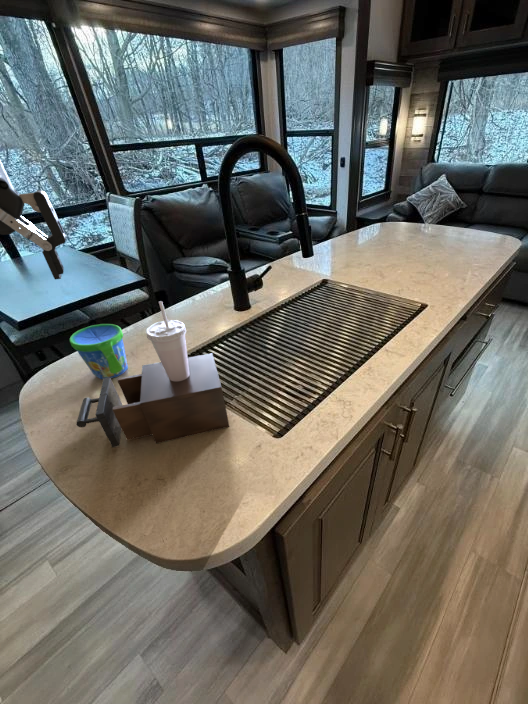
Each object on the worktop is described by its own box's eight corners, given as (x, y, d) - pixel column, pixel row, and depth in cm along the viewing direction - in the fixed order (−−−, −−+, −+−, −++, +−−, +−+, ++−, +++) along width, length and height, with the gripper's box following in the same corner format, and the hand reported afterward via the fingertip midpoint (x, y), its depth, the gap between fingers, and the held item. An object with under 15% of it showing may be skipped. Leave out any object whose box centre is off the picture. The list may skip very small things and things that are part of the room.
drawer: (86, 453, 58) (66, 420, 53) (95, 413, 67) (78, 382, 62) (184, 431, 62) (174, 398, 58) (180, 396, 71) (171, 365, 66)
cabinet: (156, 443, 61) (139, 403, 55) (156, 403, 71) (142, 365, 65) (229, 426, 64) (221, 387, 59) (220, 390, 74) (212, 353, 68)
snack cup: (143, 379, 78) (128, 340, 71) (94, 395, 73) (74, 355, 67) (127, 352, 88) (113, 316, 82) (83, 364, 83) (64, 327, 77)
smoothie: (203, 369, 63) (187, 298, 54) (183, 388, 58) (162, 313, 50) (175, 364, 65) (154, 293, 56) (153, 382, 60) (127, 308, 51)
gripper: (26, 131, 41) (81, 268, 51) (-130, 131, 36) (-35, 282, 46) (17, 130, 35) (80, 282, 45) (-168, 129, 30) (-51, 301, 40)
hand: (22, 282), depth 46 cm, fingers open, 8 cm apart
